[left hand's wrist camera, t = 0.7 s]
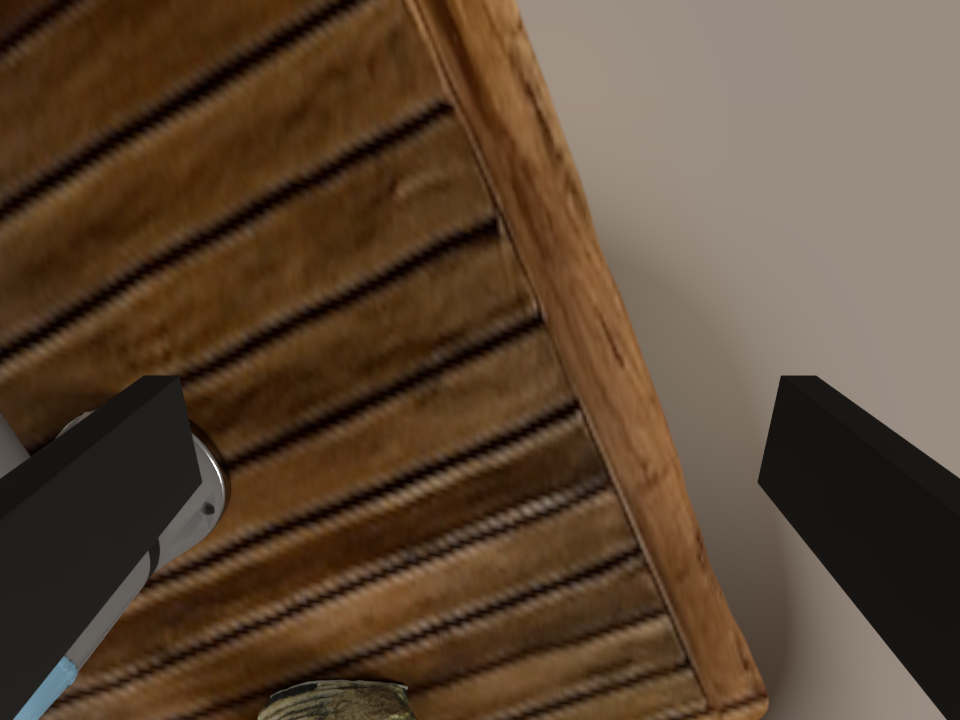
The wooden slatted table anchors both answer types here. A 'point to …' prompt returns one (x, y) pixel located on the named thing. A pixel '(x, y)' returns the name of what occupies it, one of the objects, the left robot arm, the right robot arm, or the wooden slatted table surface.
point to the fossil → (339, 702)
